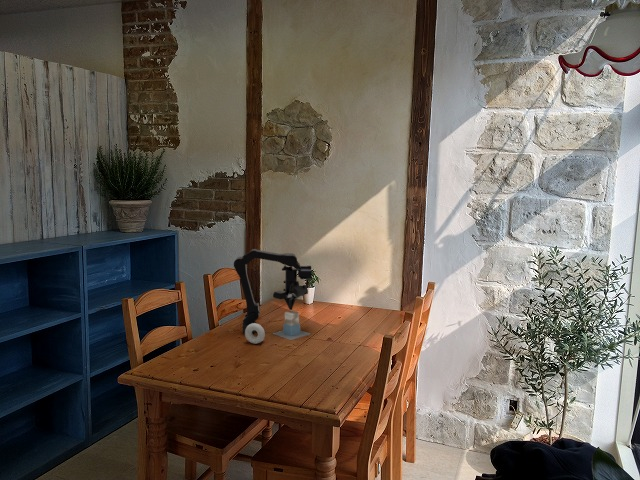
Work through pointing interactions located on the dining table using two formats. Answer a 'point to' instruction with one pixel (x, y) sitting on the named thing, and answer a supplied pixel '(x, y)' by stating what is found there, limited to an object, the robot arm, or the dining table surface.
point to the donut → (259, 330)
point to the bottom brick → (291, 329)
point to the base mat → (291, 336)
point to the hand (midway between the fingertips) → (290, 309)
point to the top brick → (291, 318)
